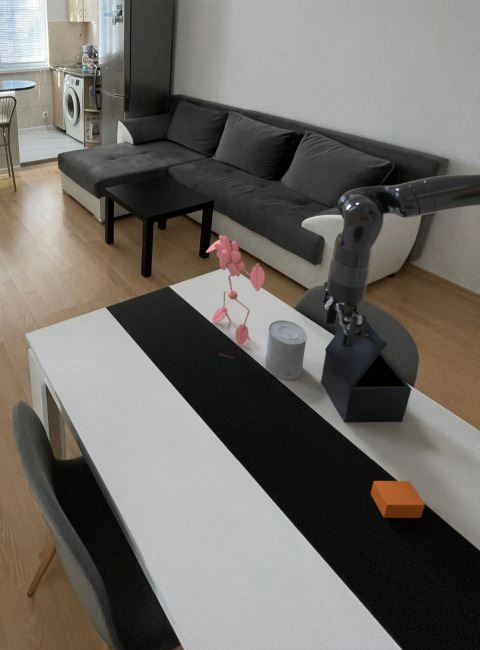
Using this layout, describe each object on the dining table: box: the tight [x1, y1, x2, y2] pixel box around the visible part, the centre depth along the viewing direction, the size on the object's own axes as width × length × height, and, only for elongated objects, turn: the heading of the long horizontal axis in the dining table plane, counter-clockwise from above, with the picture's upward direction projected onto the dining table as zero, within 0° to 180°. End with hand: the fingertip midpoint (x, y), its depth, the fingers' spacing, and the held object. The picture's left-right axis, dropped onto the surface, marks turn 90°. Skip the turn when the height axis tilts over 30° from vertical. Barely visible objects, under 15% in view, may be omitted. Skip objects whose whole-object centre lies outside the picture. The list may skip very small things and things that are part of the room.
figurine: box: [205, 234, 266, 359], centre depth 128 cm, size 15×26×35 cm, turn 19°
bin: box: [320, 351, 412, 424], centre depth 107 cm, size 14×12×11 cm
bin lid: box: [324, 309, 388, 388], centre depth 103 cm, size 14×12×6 cm
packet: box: [370, 480, 426, 519], centre depth 86 cm, size 7×5×4 cm, turn 87°
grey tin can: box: [264, 319, 308, 380], centre depth 119 cm, size 10×10×12 cm
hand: (337, 334), depth 102 cm, fingers open, 7 cm apart
